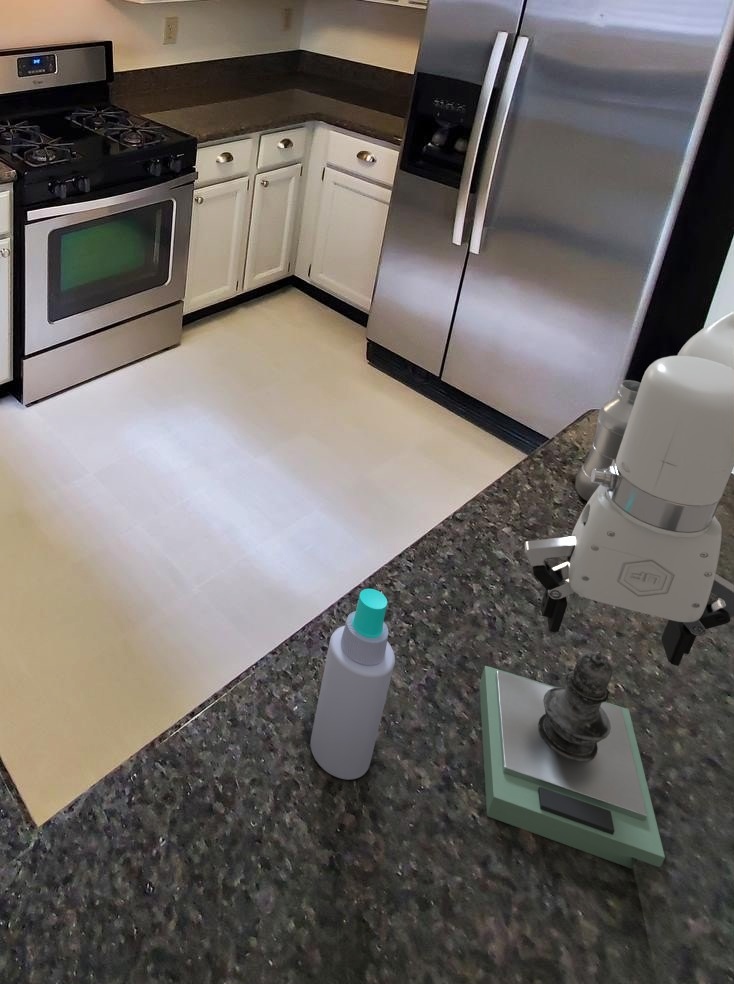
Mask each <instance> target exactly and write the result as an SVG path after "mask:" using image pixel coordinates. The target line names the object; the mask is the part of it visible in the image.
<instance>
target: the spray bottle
mask: <svg viewBox="0 0 734 984" xmlns="http://www.w3.org/2000/svg"><path fill="white" fill-rule="evenodd" d="M357 600H358V601H357V605H356V608H355V611H352V612H350V613H349V614H348V616H347V618H346V621H345V623H344V625H341V626H339V627H338V628H336V629H335V630H334V631H333V632H332V634H331V636H330V639H329V644H328V649H327V653H326V658H325V664H324V669H323V674H322V678H321V679H322V680H321V685H320V688H319V695H318V700H317V705H316V710H315V714H314V715H315V716H314V720H313V726H312V731H311V736H310V750H311V751H310V752H311V753H312V756H313V758H314V760H315V761H316V763H317V765H318V766H319V767H321V768H322V769H323V770H324V771H325V772H326V773H327V774H329V775H331V776H333V777H335V778H337V779H342V780H346V781H347V780H356V779H359V778H361V777H363V776H364V775H365V774H366V773H367V772H368V770H369V768H370V765H371V761H372V758H373V754H374V749H375V745H376V741H377V738H378V733H379V730H380V725H381V722H382V718H383V713H384V708H385V704H386V700H387V697H388V692H389V688H390V684H391V680H392V676H393V672H394V668H395V664H396V656H395V651H394V648H393V647H392V646H391V644H390V643H389V641H388V638H389V627H388V625H387V624H386V622H385V617H386V612H387V607H388V599H387V597H386V596H385V595H384V594H383V593H382V592H381V591H379V590H377V589H374V588H364V589H362V590H361V591H360V593H359V596H358V599H357Z"/></svg>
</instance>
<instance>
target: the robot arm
mask: <svg viewBox="0 0 734 984" xmlns="http://www.w3.org/2000/svg"><path fill="white" fill-rule="evenodd" d="M640 383H641V384H640V387H639V390H638V393H637V396H636V399H635V402H634V405H633V409H632V412H631V415H630V418H629V421H628V424H627V427H626V430H625V433H624V436H623V439H622V442H621V445H620V448H619V451H618V454H617V457H616V460H615V459H613V461H612V464H611V466H609V468H608V469H605V468H603V469H597V468H593V470H592V473H591V482H592V483H596V484H600V486H599V487H598V488H597V489H596V491H595V492H594V493H593V495H592V496H591V498H590V499H589V501H586V502H587V503H586V504H585V505H584V507H583V509H582V511H581V513H580V515H579V517H578V519H577V521H576V523H575V525H574V528H573V530H572V533H571V535H570V536H561V537H554V538H553V537H552V538H545V539H544V538H543V539H534V540H527V541H525V542H524V551H525V556H526V558H527V561H528V563H529V566H530V567H531V570H532V573H533V576H534V578H535V579H536V580H537V581H538V582H539V583H540V585H542V586H543V587H544V589H545V590H544V593H543V597H542V600H541V604H540V613H541V616H542V617H545V618H546V619H547V620H546V621H547V625H548V632H551V633H554V634H557V633H559V632H560V628H561V626H562V623H563V620H564V616H565V613H566V610H567V607H568V600H567V597H569V596H571V595H573V594H577V595H578V596H580V597H582V598H584V599H588V600H589V601H590V600H591V601H594V602H597V603H601V604H605V605H609V606H613V607H616V608H620V609H625V610H628V611H632V612H636V613H640V614H645V615H647V616H651V617H656V618H659V619H660V618H661V619H665V620H667V623H666V625H665V627H664V630H663V633H662V635H661V642H662V646H663V649H664V653H665V656H666V659H667V662H668V663H670V665H673V666H676V667H679V666H680V664H681V661H682V659H683V657H684V654H685V655H689V654H690V652H691V650H692V647H693V645H694V642H695V640H696V638H697V637H701V636H704V635H706V634H707V630H708V629H712V628H716V627H719V626H723V625H726V624H729V623H730V622H731V618H733V617H734V584H733V583H731V582H730V581H728V580H727V579H725V578H723V577H722V576H721V575H719V574H717V568H718V564H719V558H720V553H721V547H722V546H721V544H722V537H723V536H722V535H723V533H722V532H723V529H722V525H721V523H720V521H718V519H717V516H716V512H717V509H718V507H719V504H720V502H721V499H722V497H723V494H724V492H725V491H726V488H727V484H728V482H729V480H730V477H731V475H732V472H733V470H734V310H732V311H731V312H728V313H727V314H725V315H722V316H721V317H719V318H717V319H715V320H714V321H712V322H711V323H709V324H708V325H706V326H704V327H703V328H701V329H700V330H699V331H698V332H697V333H695V334H694V335H692V336H691V337H690V338H689V339H688V340H686V342H685V344H683V346H682V347H681V349H679V352H677V355H669V356H664V357H661V358H658V359H656V360H654V361H653V362H652V363H651V364H649V366H648V367H647V368H646V370H644V374H643V376H642V379H641V382H640ZM556 558H565V562H562V563H560V564H558V565H556V566H553V567H552V566H551V565H550V564H549V563H548V562H547V560H548V559H556ZM711 594H713V595H715V596H716V597H718V598H717V599H712V600H709V599H710V595H711Z"/></svg>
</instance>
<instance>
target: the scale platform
mask: <svg viewBox="0 0 734 984" xmlns="http://www.w3.org/2000/svg"><path fill="white" fill-rule="evenodd" d="M495 677H496V689H497V702H498V714H499V727H500V739H501V752H502V765H503V772H504V773H507V774H510V775H512V776H515V777H518V778H521V779H524V780H527V781H530V782H533V783H536V784H539V785H541V786H544V787H547V788H550V789H553V790H556V791H559V792H562V793H565V794H568V795H571V796H573V797H576V798H579V799H582V800H585V801H588V802H591V803H594V804H597V805H600V806H602V807H605V808H608V809H611V810H614V811H617V812H620V813H623V814H626V815H629V816H631V817H634V818H637V819H640V820H643V821H645V820H646V817H647V813H646V809H645V804H644V800H643V796H642V792H641V788H640V783H639V779H638V775H637V771H636V766H635V762H634V758H633V754H632V749H631V745H630V741H629V737H628V733H627V728H626V724H625V720H624V716H623V711H622V709H621V708H618V707H615V706H612V705H608V704H605V703H601V708H602V709H603V710H604V711H605V713H606V714H607V716H608V718H609V720H610V725H611V729H610V734H609V735H608V736H607V737H606V738H605V739H603V740H601V741H599V742H597V747H598V750H597V754H596V756H595V757H594V758H593V759H591V760H589V761H583V762H581V761H574V760H572V759H569V758H566V757H564V756H562V755H560V754H559V753H557V752H556V751H555V750H553V749H552V748H551V747H550V746H549V745H548V744H547V743H546V742H545V740H544V739H543V737H542V736H541V734H540V731H539V726H538V723H539V720H540V718H541V717H542V716H543V715H544V714H546V713H545V707H544V702H543V699H544V696H545V694H546V692H547V691H548V690H550V689H552V688H553V687H549V686H546V685H543V684H539V683H536V682H533V681H530V680H526V679H523V678H520V677H516V676H513V675H510V674H507V673H503V672H500V671H497V672H496V675H495Z"/></svg>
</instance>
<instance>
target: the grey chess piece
mask: <svg viewBox="0 0 734 984" xmlns="http://www.w3.org/2000/svg"><path fill="white" fill-rule="evenodd" d="M573 668H574V669H573V670H571V671H569V672H568V673H567V674H566V676H565V683H566V686H565V687H564V686H555V687H556V688H552V689H550V690H548V691H547V692H546V694H545V696H544V699H543V702H544V707H545V713H546V714H544V715H543V716H542V717H541V718H540V720H539V723H538V726H539V731H540V734H541V736H542V737H543V739H544V740H545V742H546V743H547V744H548V745H549V746H550V747H551V748H552V749H553V750H555V751H556V752H557V753H559V754H560V755H562V756H564V757H566V758H569V759H572V760H574V761H581V762H583V761H589V760H591V759H593V758H594V757H595V756H596V754H597V750H598V747H597V742H599V741H601V740H603V739H605V738H606V737H607V736H608V735H609V734H610V729H611V725H610V720H609V718H608V716H607V714H606V713H605V711H604V710H603V709H602V708H601V703H603V702H607V701H608V699H609V691H608V685H609V683H610V681H611V678H612V676H613V668H612V667H611V665H610V663H609V662H608V661H607V659H606V658H605V657H604V655H603V654H602V653H601V652H595V653H594V652H584V653H581V654H580V655H579V656H578V658H577V660H576V663H575V666H574V667H573Z"/></svg>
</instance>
